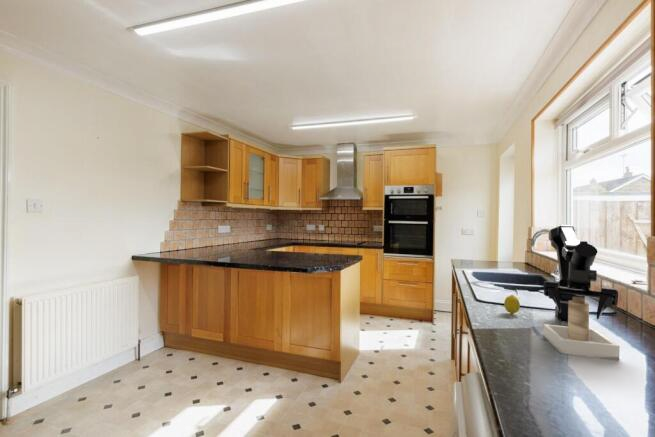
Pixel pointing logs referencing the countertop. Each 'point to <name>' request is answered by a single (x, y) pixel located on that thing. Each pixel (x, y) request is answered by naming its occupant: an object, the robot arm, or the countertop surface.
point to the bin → (581, 343)
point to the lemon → (512, 304)
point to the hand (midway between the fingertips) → (578, 315)
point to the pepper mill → (578, 319)
